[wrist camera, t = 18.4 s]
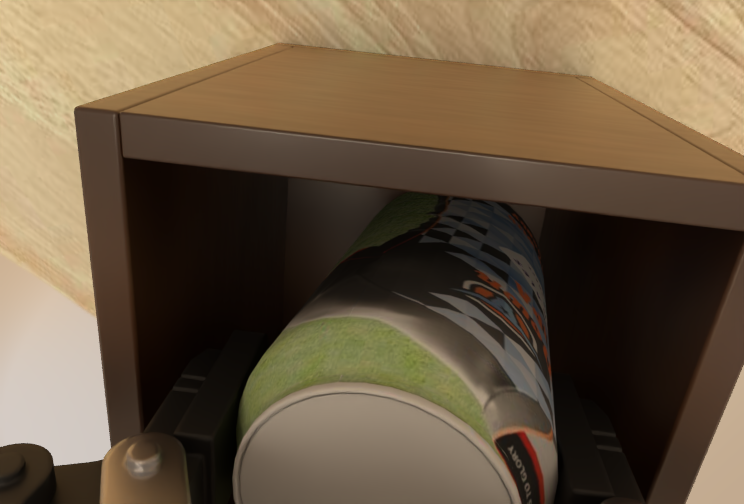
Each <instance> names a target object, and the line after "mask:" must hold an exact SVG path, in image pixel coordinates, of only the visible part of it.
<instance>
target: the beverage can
mask: <svg viewBox="0 0 744 504" xmlns="http://www.w3.org/2000/svg"><path fill="white" fill-rule="evenodd" d="M236 441H237V454H236V457H235V462H234V469H233V476H232V482H233V497H234V501H235V504H554V500H555V494H556V489H557V484H558V456H557V441H556V428H555V415H554V402H553V390H552V377H551V364H550V351H549V338H548V325H547V313H546V300H545V287H544V274H543V262H542V258H541V254H540V250H539V246H538V244H537V242H536V240H535V238H534V236H533V233H532V232H531V230H530V229H529V227H528V226H527V225H526V223H525V222H524V220H523V219H522V218H521V217H520V216H519V215H518V214H517V213H516V212H515V211H514V210H513V209H512V208H511V207H510V206H509V205H507V204H506V203H499V202H491V201H482V200H474V199H465V198H457V197H449V196H440V195H432V194H423V193H415V192H407V193H405V194H402V195H400V196H398V197H397V198H396V199H394V200H393V201H391V202H390V203H388V204H387V205H386V206H385V207H384V208H383V209H382V210H381V211H380V212H379V213H378V214H377V215H376V216H375V217H374V219H373V220H372V221H371V222H370V224H369V225H368V226H367V227H366V228H365V230H364V231H363V232H362V233H361V235H360V236H359V237H358V238H357V240H356V241H355V242H354V243H353V245H352V246H351V247H350V248H349V250H348V251H347V252H346V253H345V254H344V256H343V257H342V258H341V259H340V261H339V262H338V263H337V264H336V266H335V267H334V268H333V269H332V271H331V272H330V273H329V274H328V276H327V277H326V278H325V279H324V280H323V282H322V283H321V284H320V285H319V287H318V288H317V289H316V290H315V292H314V293H313V294H312V295H311V297H310V298H309V299H308V300H307V302H306V303H305V304H304V305H303V306H302V308H301V309H300V310H299V311H298V313H297V314H296V315H295V316H294V318H293V319H292V320H291V321H290V323H289V324H288V325H287V326H286V328H285V329H284V330H283V331H282V332H281V334H280V335H279V336H278V337H277V339H276V340H275V341H274V342H273V344H272V345H271V346H270V347H269V349H268V350H267V351H266V352H265V354H264V355H263V356H262V358H261V359H260V361H259V362H258V364H257V365H256V367H255V368H254V370H253V372H252V373H251V375H250V376H249V378H248V381H247V384H246V386H245V389H244V392H243V394H242V397H241V400H240V403H239V410H238V417H237V424H236Z"/></svg>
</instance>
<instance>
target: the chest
mask: <svg viewBox="0 0 744 504" xmlns="http://www.w3.org/2000/svg"><path fill="white" fill-rule="evenodd" d="M74 115H75V124H76V133H77V142H78V151H79V160H80V169H81V179H82V188H83V197H84V206H85V215H86V224H87V233H88V242H89V251H90V260H91V269H92V278H93V287H94V296H95V306H96V315H97V324H98V332H99V342H100V351H101V360H102V369H103V378H104V387H105V396H106V405H107V414H108V423H109V432H110V441H111V448H112V447H113V446H114V445H116V444H117V443H118V442H120V441H122V440H123V439H126V438H128V437H130V436H133V435H136V434H141V433H143V432H144V430H145V429H146V427H147V426H148V424H149V423H150V421H151V419H152V418H153V416H154V415H155V413H156V412H157V410H158V409H159V407H160V406H161V404H162V403H163V401H164V400H165V398H166V397H167V395H168V394H169V392H170V391H171V390H172V389H173V386H174V385H175V383H176V381H177V380H178V378H180V377H181V374H182V372H183V371H184V369H185V368H186V366H187V365H188V363H189V362H190V360H191V359H193V358H194V357H196V356H197V355H199V354H200V353H202V352H203V351H205V350H206V349H208V348H211V349H218V350H223V348H224V346H225V344H226V343H227V341H228V339H229V338H230V336H231V334H232V333H233V331H234V330H242V331H250V332H258V333H265V334H267V335H268V340H269V347H270V346H271V345H272V344H273V342H274V341H275V340H276V339H277V337H278V336H279V335H280V334H281V332H282V331H283V330H284V329H285V328H286V326H287V325H288V324H289V323H290V321H291V320H292V319H293V318H294V316H295V315H296V314H297V313H298V311H299V310H300V309H301V308H302V306H303V305H304V304H305V303H306V302H307V300H308V299H309V298H310V297H311V295H312V294H313V293H314V292H315V290H316V289H317V288H318V287H319V285H320V284H321V283H322V282H323V280H324V279H325V278H326V277H327V276H328V274H329V273H330V272H331V271H332V269H333V268H334V267H335V266H336V264H337V263H338V262H339V261H340V259H341V258H342V257H343V256H344V254H345V253H346V252H347V251H348V250H349V248H350V247H351V246H352V245H353V243H354V242H355V241H356V240H357V238H358V237H359V236H360V235H361V233H362V232H363V231H364V230H365V228H366V227H367V226H368V225H369V224H370V222H371V221H372V220H373V219H374V217H375V216H376V215H377V214H378V213H379V212H380V211H381V210H382V209H383V208H384V207H385V206H386V205H387V204H388V203H390V202H391V201H393V200H394V199H396V198H397V197H398V196H400V195H402V194H405V193H407V192H415V193H423V194H432V195H440V196H449V197H457V198H465V199H474V200H482V201H491V202H499V203H506V204H507V205H509V206H510V207H511V208H512V209H513V210H514V211H515V212H516V213H517V214H518V215H519V216H520V217H521V218H522V219H523V220H524V222H525V223H526V225H527V226H528V227H529V229H530V230H531V232H532V233H533V236H534V238H535V240H536V242H537V244H538V246H539V250H540V254H541V258H542V262H543V274H544V287H545V300H546V313H547V325H548V338H549V351H550V364H551V372H558V373H566V374H570V375H571V377H572V380H573V382H574V385H575V388H576V391H577V393H578V396H579V398H582V399H590V400H593V401H594V402H595V403H596V404H597V405H598V406H599V407H600V408H601V409H602V410H603V411H604V412H605V413H606V414H607V415H608V416H609V418H610V421H611V423H612V426H613V428H614V430H615V433H616V438H618V440H619V442H620V445H621V447H622V453H624V454H625V456H626V459H627V461H628V464H629V466H630V468H631V471H632V473H633V475H634V478H635V480H636V482H637V485H638V487H639V490H640V492H641V494H642V497H643V499H644V501H645V504H685V503H686V501H687V499H688V496H689V494H690V491H691V489H692V487H693V484H694V482H695V479H696V477H697V475H698V472H699V470H700V467H701V465H702V462H703V460H704V458H705V455H706V453H707V451H708V448H709V446H710V444H711V441H712V439H713V436H714V434H715V432H716V429H717V427H718V425H719V422H720V420H721V417H722V415H723V413H724V410H725V408H726V405H727V403H728V401H729V398H730V396H731V393H732V391H733V389H734V386H735V384H736V382H737V379H738V377H739V375H740V372H741V370H742V367H743V365H744V156H743V155H741V154H739V153H737V152H735V151H733V150H732V149H730V148H728V147H726V146H724V145H722V144H720V143H718V142H716V141H714V140H712V139H710V138H708V137H706V136H704V135H703V134H701V133H699V132H697V131H695V130H693V129H691V128H689V127H687V126H685V125H683V124H681V123H679V122H677V121H676V120H674V119H672V118H670V117H668V116H666V115H664V114H662V113H660V112H658V111H656V110H654V109H652V108H650V107H648V106H647V105H645V104H643V103H641V102H639V101H637V100H635V99H633V98H631V97H629V96H627V95H625V94H623V93H621V92H620V91H618V90H616V89H614V88H612V87H610V86H608V85H606V84H604V83H602V82H600V81H598V80H596V79H594V78H592V77H589V76H579V75H570V74H561V73H552V72H542V71H533V70H524V69H515V68H505V67H496V66H487V65H478V64H468V63H459V62H450V61H441V60H432V59H422V58H413V57H404V56H395V55H385V54H376V53H367V52H358V51H348V50H339V49H330V48H321V47H311V46H302V45H293V44H284V43H277V44H274V45H271V46H268V47H265V48H262V49H259V50H255V51H252V52H249V53H246V54H243V55H240V56H236V57H233V58H230V59H227V60H224V61H220V62H217V63H214V64H211V65H208V66H204V67H201V68H198V69H195V70H192V71H189V72H185V73H182V74H179V75H176V76H173V77H169V78H166V79H163V80H160V81H157V82H154V83H150V84H147V85H144V86H141V87H138V88H134V89H131V90H128V91H125V92H122V93H119V94H115V95H112V96H109V97H106V98H103V99H99V100H96V101H93V102H90V103H87V104H84V105H80V106H77V107H75V110H74ZM268 349H269V348H268ZM228 504H235V501H234V497H233V491H232V494H231V496H230V499H229V501H228Z"/></svg>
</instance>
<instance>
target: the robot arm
mask: <svg viewBox="0 0 744 504" xmlns="http://www.w3.org/2000/svg"><path fill="white" fill-rule="evenodd" d="M268 348H269V340H268V335H267V334H265V333H258V332H250V331H242V330H234V331H233V333H232V334H231V336H230V338H229V339H228V341H227V343H226V344H225V346H224V348H223V350H218V349H211V348H208V349H206V350H205V351H203V352H202V353H200V354H199V355H197V356H196V357H194V358H193V359H191V360H190V362H189V363H188V365H187V366H186V368H185V369H184V371H183V372H182V374H181V377H180V378H178V380H177V381H176V383H175V385H174V386H173V389H172V390H171V391H170V392H169V394H168V395H167V397H166V398H165V400H164V401H163V403H162V404H161V406H160V407H159V409H158V410H157V412H156V413H155V415H154V416H153V418H152V419H151V421H150V423H149V424H148V426H147V427H146V429H145V430H144V432H143V433H141V434H136V435H133V436H130V437H128V438H126V439H123V440H122V441H120V442H118V443H117V444H116V445H114V446H113V447H112V448H111V449H110V450H109V451H108V452H107V454H106V455H105V457H104V459H103V460H99V461H94V462H89V463H78V464H70V465H60V466H54V464H53V458H52V455H51V453H50V452H49V451H48V450H47V449H45V448H44V447H41V446H39V445H35V444H28V443H27V444H26V443H21V444H12V445H7V446H3V447H0V504H228V501H229V499H230V496H231V494H232V491H233V482H232V476H233V469H234V462H235V457H236V454H237V441H236V424H237V417H238V410H239V403H240V400H241V397H242V394H243V392H244V389H245V386H246V384H247V381H248V378H249V376H250V375H251V373H252V372H253V370H254V368H255V367H256V365H257V364H258V362H259V361H260V359H261V358H262V356H263V355H264V354H265V352H266V351H267V350H268ZM551 377H552V390H553V402H554V415H555V428H556V441H557V456H558V484H557V489H556V494H555V500H554V504H645V501H644V499H643V497H642V494H641V492H640V490H639V487H638V485H637V482H636V480H635V478H634V475H633V473H632V471H631V468H630V466H629V464H628V461H627V459H626V456H625V454H624V453H622V447H621V445H620V442H619V440H618V438H616V433H615V430H614V428H613V426H612V423H611V421H610V418H609V416H608V415H607V414H606V413H605V412H604V411H603V410H602V409H601V408H600V407H599V406H598V405H597V404H596V403H595V402H594V401H593V400H590V399H582V398H579V396H578V393H577V391H576V388H575V385H574V382H573V380H572V377H571V375H570V374H566V373H558V372H551Z"/></svg>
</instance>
